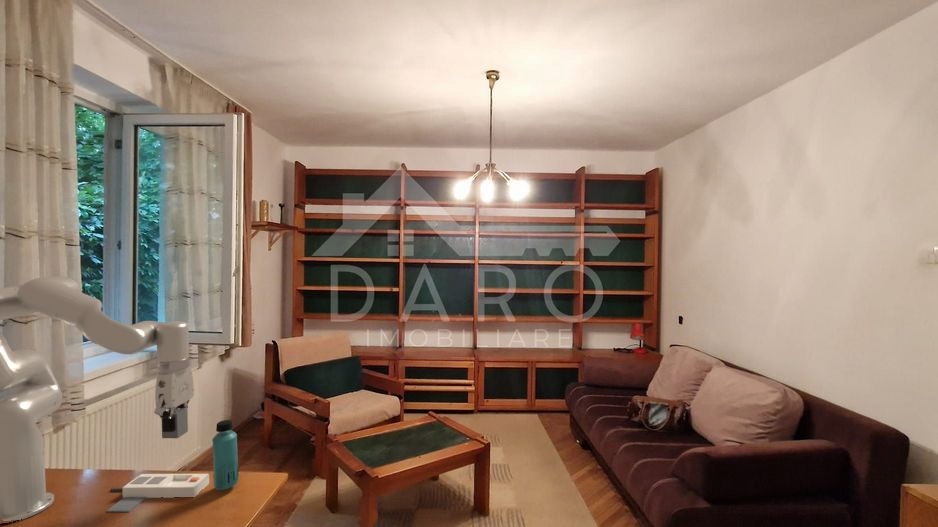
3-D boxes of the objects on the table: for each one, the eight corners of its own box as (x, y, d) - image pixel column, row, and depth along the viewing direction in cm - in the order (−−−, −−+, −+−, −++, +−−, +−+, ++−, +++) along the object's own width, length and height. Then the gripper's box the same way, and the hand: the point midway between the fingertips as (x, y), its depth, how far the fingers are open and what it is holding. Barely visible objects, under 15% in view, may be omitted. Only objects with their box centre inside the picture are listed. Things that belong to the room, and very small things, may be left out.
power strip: (101, 497, 118) (100, 485, 118) (121, 483, 125) (121, 472, 125) (194, 497, 119) (193, 485, 119) (209, 483, 126) (208, 471, 126)
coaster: (106, 512, 112) (106, 510, 112) (124, 498, 118) (124, 497, 118) (129, 512, 112) (129, 510, 112) (146, 498, 118) (146, 497, 118)
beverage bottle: (227, 496, 119) (225, 427, 118) (207, 493, 121) (205, 425, 120) (244, 483, 126) (242, 418, 125) (225, 481, 127) (223, 416, 126)
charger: (162, 438, 119) (161, 413, 119) (172, 431, 124) (172, 407, 123) (177, 438, 119) (177, 413, 119) (187, 431, 124) (187, 407, 123)
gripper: (165, 374, 112) (167, 441, 113) (204, 357, 129) (205, 415, 130) (137, 374, 112) (139, 441, 113) (180, 357, 129) (181, 415, 130)
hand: (174, 426), depth 121 cm, fingers closed on charger, 4 cm apart
